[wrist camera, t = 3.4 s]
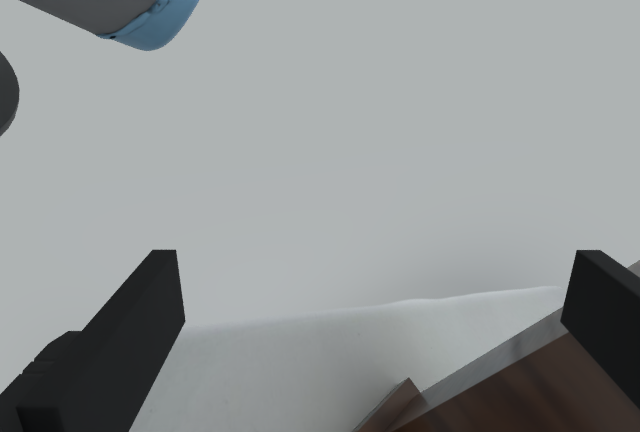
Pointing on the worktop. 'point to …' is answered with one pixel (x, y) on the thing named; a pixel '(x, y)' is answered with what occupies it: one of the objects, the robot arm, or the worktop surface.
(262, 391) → the worktop surface
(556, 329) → the stand
